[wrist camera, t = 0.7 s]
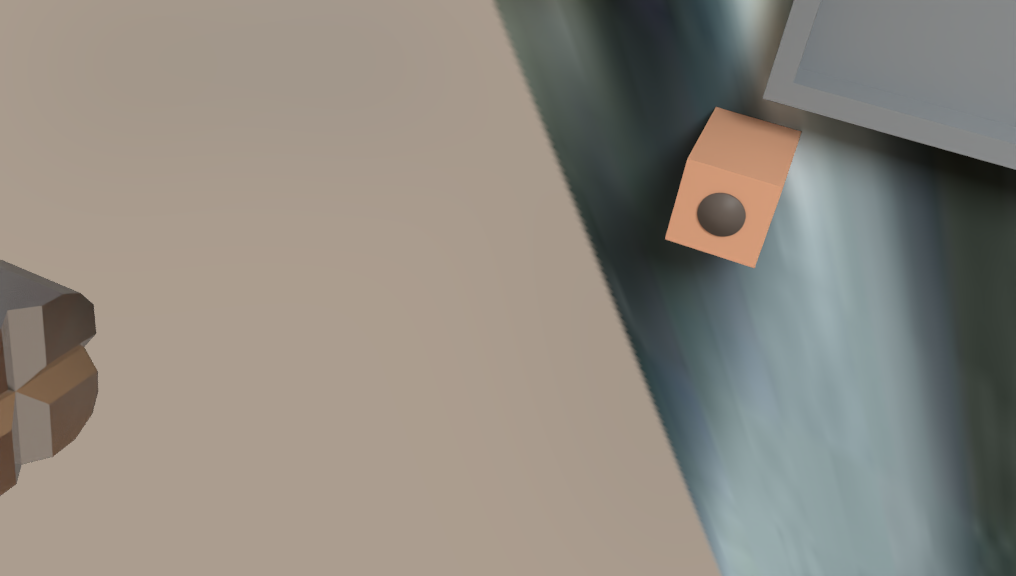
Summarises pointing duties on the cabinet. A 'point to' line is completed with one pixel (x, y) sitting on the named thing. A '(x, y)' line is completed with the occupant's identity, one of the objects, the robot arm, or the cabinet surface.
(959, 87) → the tray
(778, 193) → the terracotta block
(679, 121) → the cabinet surface
